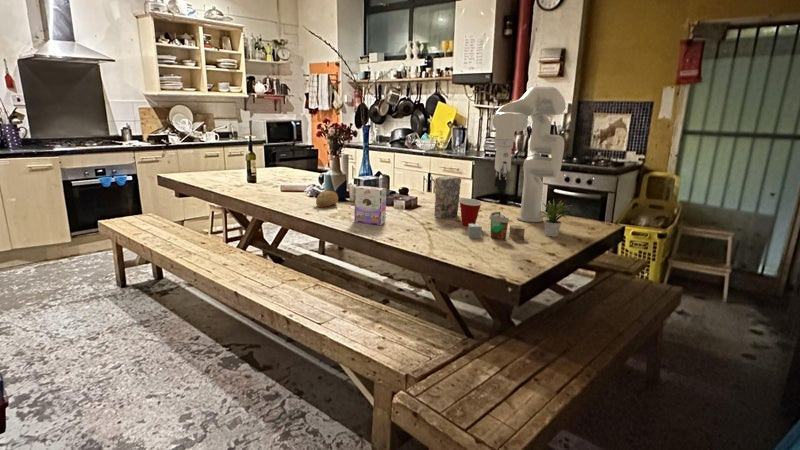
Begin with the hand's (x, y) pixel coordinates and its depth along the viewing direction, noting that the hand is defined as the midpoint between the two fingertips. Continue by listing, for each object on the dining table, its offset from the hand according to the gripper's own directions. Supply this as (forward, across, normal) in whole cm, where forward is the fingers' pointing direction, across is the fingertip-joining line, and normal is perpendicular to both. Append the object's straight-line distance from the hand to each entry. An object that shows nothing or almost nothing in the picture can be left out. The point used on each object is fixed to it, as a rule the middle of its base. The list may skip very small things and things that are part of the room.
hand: (499, 187), depth 191 cm
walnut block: (+22, 0, -9) cm, 23 cm away
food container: (+22, 0, 0) cm, 22 cm away
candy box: (+22, +17, +55) cm, 62 cm away
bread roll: (+22, +50, +80) cm, 97 cm away
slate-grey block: (+22, 0, +9) cm, 23 cm away
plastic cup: (+22, +18, +9) cm, 30 cm away
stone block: (+22, +36, +18) cm, 46 cm away
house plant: (+22, +6, -26) cm, 34 cm away
